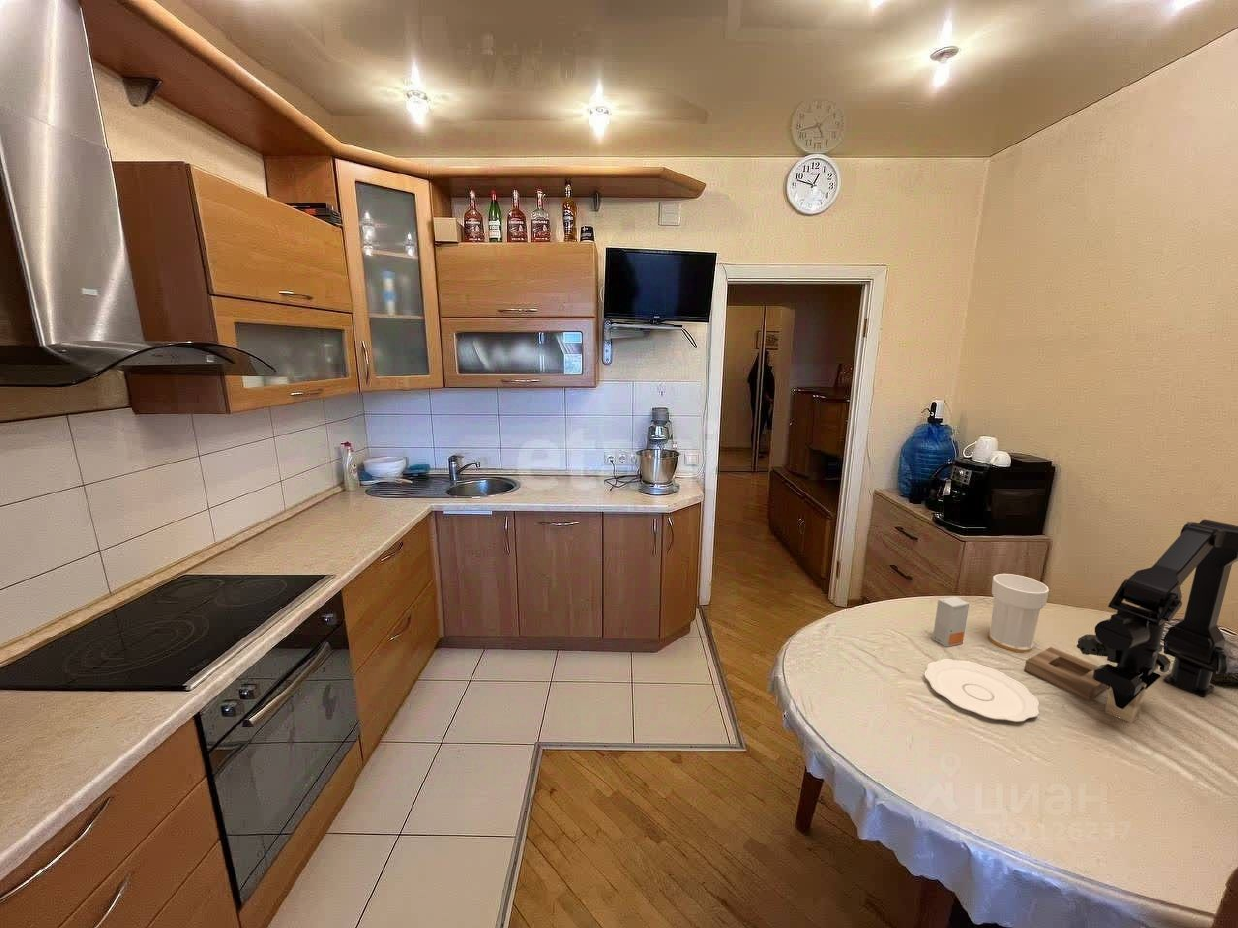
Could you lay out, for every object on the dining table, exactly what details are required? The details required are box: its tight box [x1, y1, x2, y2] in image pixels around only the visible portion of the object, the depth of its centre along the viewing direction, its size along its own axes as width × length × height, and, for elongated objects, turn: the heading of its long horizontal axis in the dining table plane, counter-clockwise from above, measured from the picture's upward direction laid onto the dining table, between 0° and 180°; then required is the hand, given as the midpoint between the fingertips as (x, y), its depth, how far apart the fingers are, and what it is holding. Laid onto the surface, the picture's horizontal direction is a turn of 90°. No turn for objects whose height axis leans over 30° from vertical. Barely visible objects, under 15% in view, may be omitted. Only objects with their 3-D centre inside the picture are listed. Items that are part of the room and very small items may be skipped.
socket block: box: [1024, 646, 1110, 702], centre depth 113 cm, size 12×12×3 cm
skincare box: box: [932, 596, 970, 648], centre depth 128 cm, size 6×4×12 cm
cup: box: [988, 573, 1050, 653], centre depth 126 cm, size 11×11×17 cm
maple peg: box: [1104, 683, 1147, 724], centre depth 101 cm, size 4×4×8 cm
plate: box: [923, 658, 1040, 723], centre depth 109 cm, size 21×21×2 cm
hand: (1124, 703), depth 101 cm, fingers closed on maple peg, 4 cm apart
